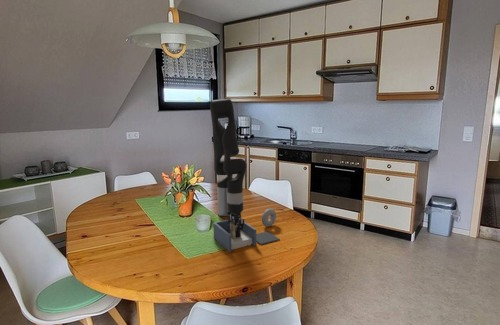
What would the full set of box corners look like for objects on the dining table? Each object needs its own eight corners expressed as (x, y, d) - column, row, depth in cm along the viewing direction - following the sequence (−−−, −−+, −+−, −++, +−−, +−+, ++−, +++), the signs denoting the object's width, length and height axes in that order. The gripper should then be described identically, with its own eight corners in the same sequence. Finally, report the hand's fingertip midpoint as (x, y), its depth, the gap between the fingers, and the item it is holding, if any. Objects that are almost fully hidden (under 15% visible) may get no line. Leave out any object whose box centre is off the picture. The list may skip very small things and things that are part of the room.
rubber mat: (249, 236, 158) (249, 235, 158) (267, 232, 164) (267, 231, 163) (260, 245, 149) (260, 243, 149) (279, 240, 154) (279, 239, 154)
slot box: (213, 237, 157) (213, 222, 156) (238, 232, 164) (238, 217, 162) (229, 252, 142) (229, 235, 140) (256, 245, 148) (256, 229, 147)
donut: (264, 229, 167) (264, 211, 165) (260, 227, 169) (260, 210, 168) (277, 224, 174) (277, 207, 172) (273, 223, 176) (273, 206, 174)
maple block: (230, 236, 152) (229, 222, 150) (237, 234, 153) (237, 220, 152) (233, 239, 148) (233, 225, 147) (241, 237, 150) (241, 223, 149)
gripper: (221, 198, 152) (222, 232, 155) (234, 206, 140) (235, 242, 143) (235, 196, 155) (236, 229, 159) (249, 203, 143) (249, 239, 146)
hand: (235, 235), depth 151 cm, fingers closed on maple block, 4 cm apart
